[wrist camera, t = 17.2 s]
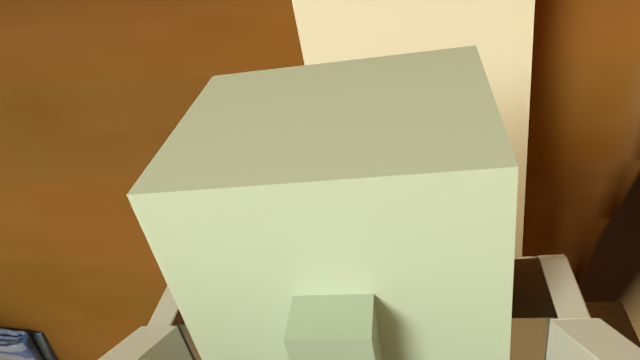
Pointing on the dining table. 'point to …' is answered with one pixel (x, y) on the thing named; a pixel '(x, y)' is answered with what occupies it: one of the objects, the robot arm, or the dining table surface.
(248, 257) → the cover
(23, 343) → the dish towel
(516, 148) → the housing
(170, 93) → the dining table surface
